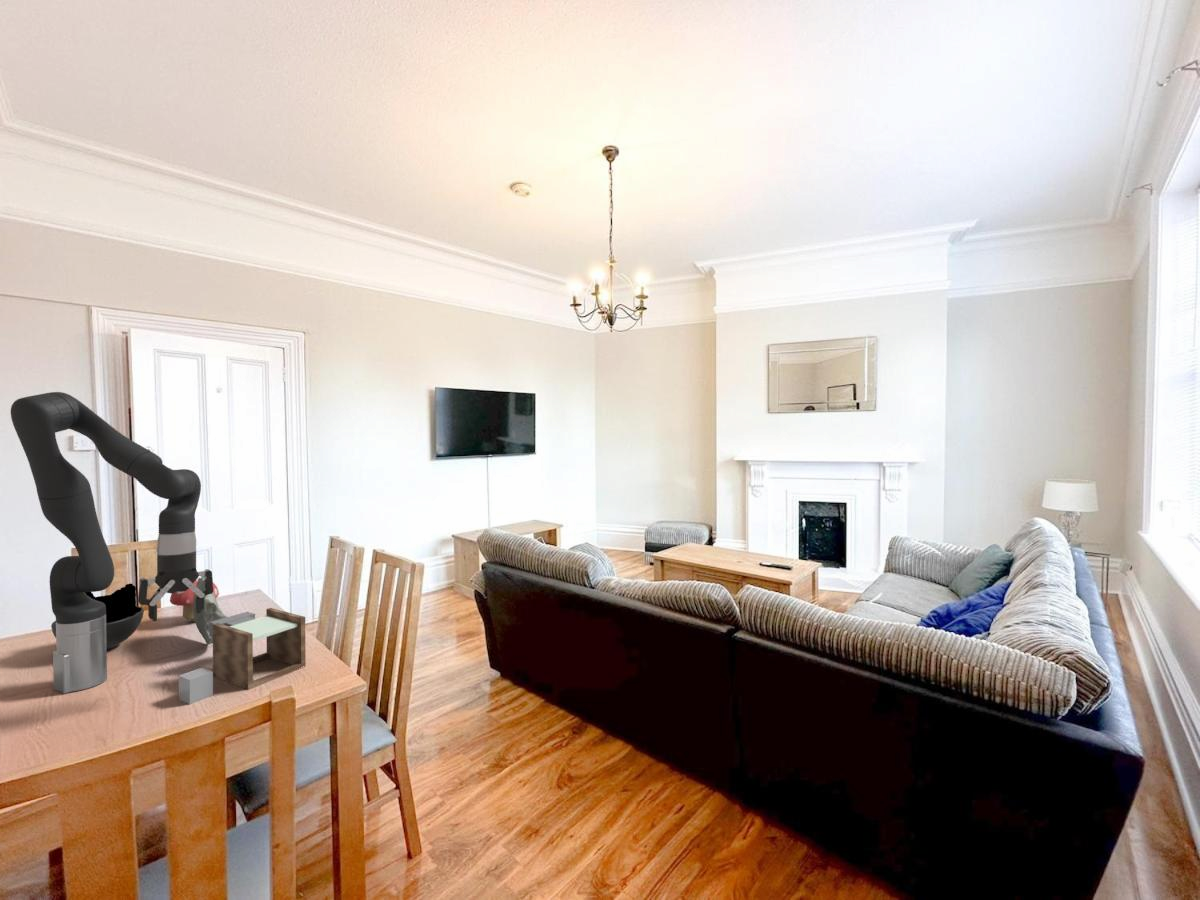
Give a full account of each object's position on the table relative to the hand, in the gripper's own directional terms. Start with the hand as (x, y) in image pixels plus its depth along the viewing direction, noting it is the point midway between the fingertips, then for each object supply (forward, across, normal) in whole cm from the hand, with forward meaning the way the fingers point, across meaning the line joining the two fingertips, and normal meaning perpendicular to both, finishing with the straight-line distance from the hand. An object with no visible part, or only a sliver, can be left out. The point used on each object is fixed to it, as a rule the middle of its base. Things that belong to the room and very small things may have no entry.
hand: (177, 616), depth 130 cm
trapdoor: (+11, +17, +6) cm, 21 cm away
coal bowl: (+20, -10, +52) cm, 56 cm away
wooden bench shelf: (+20, +18, +2) cm, 27 cm away
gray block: (+20, +3, -4) cm, 21 cm away
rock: (+20, +12, +34) cm, 41 cm away
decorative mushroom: (+19, +14, +61) cm, 65 cm away
